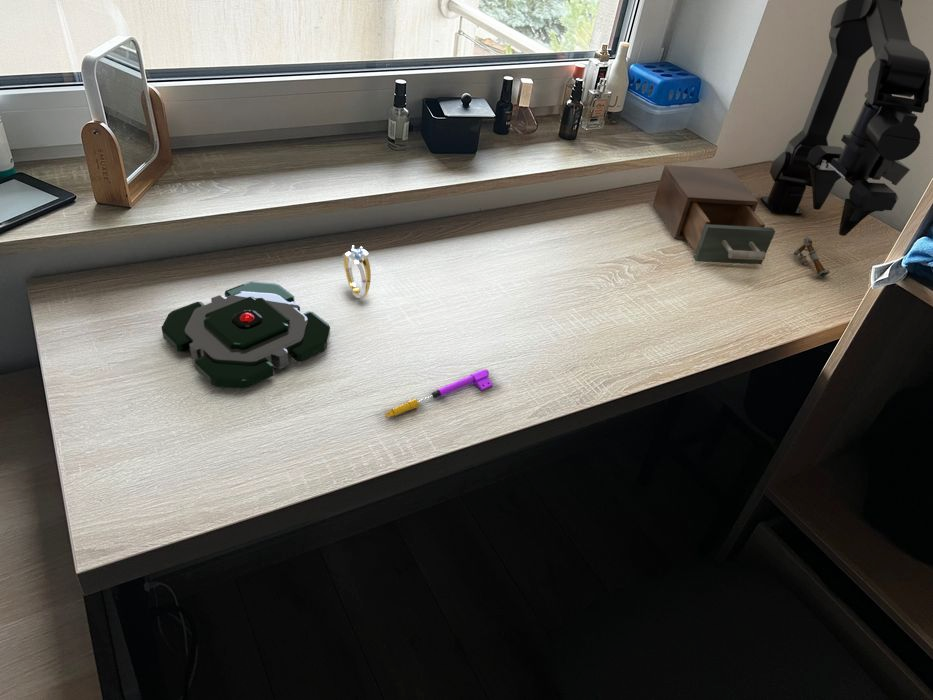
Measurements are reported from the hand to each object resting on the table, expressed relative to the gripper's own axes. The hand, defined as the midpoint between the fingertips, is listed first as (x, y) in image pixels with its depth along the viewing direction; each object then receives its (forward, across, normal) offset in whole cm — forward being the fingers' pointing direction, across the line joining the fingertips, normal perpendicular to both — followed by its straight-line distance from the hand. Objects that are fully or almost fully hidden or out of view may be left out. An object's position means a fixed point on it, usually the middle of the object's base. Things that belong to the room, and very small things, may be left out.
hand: (828, 221), depth 126 cm
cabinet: (+10, +15, +16) cm, 24 cm away
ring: (+10, -14, +81) cm, 83 cm away
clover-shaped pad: (+10, -26, +95) cm, 99 cm away
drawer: (+9, +3, +16) cm, 18 cm away
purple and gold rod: (+10, -37, +70) cm, 79 cm away
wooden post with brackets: (+10, 0, 0) cm, 10 cm away
